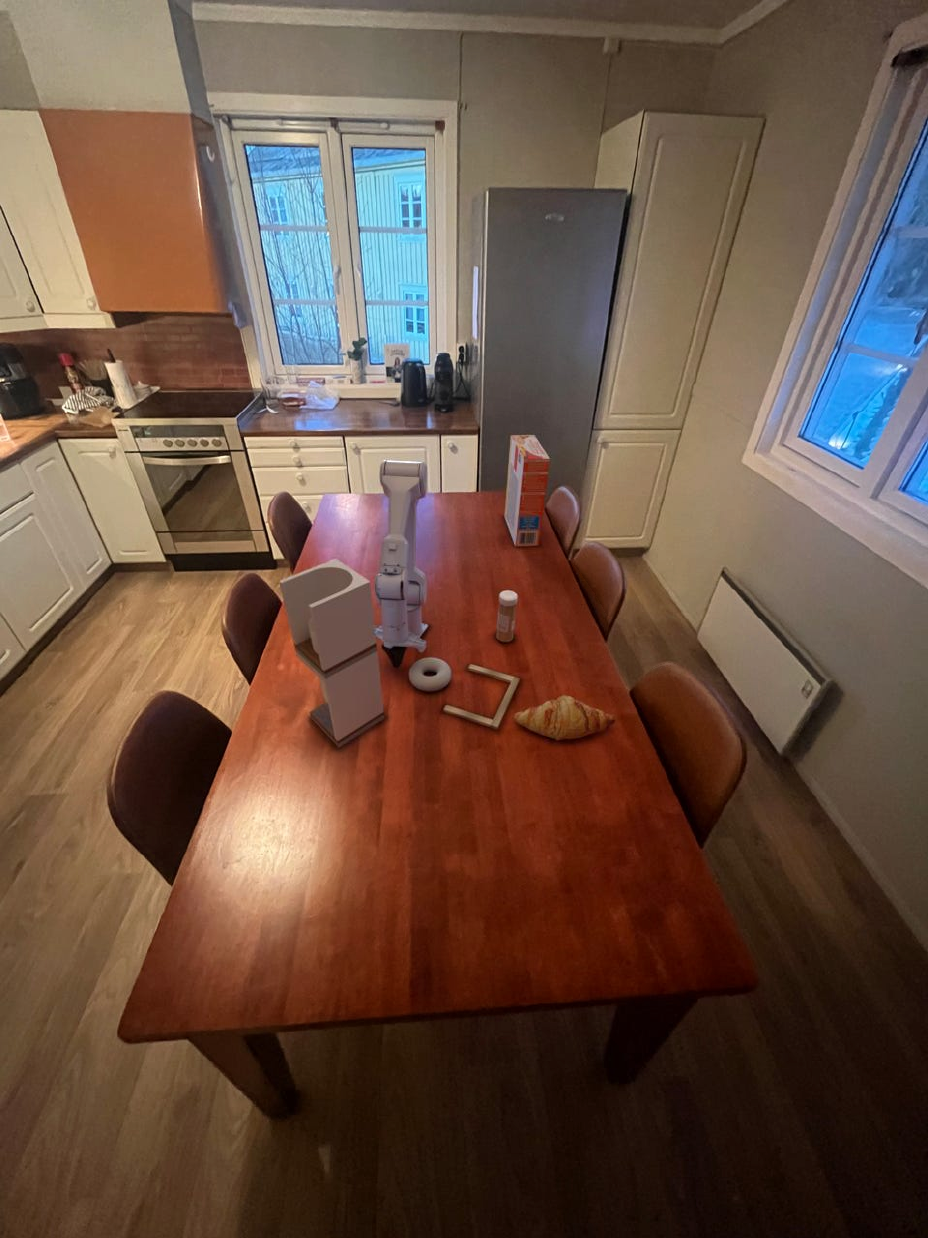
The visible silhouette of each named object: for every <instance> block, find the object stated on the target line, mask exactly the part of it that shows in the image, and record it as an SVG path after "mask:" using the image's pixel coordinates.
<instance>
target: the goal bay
mask: <svg viewBox="0 0 928 1238" xmlns="http://www.w3.org/2000/svg"><path fill="white" fill-rule="evenodd" d="M467 669H468V671H469V672H473V673H476V674H480V675H482V676H486V677H490V678H493V679H497V680H500V681H503V682H507V683H509V686H508V688H507V690H506V693H504V696H503V698H502V700H501V703H500V705H499V706H498V709H497V710H496V713H495V715H494V717H493V719H491V718H488V717H485V716H482V715H480V714H476V713H473V712H470V711H467V710H464V709H461V708H457V707H454V706H451V705H448V704H446V705H444V708H443V711H442V712H444V713H447V714H450V715H452V716H456V717H458V718H462V719H465V720H466V721H471V722H474V723H477V724H480V725H483V726H486V727H489V728H492V729H495V730H498V728H499V726H500V724H501V722H502V720H503V718H504V715H505V713H506V711H507V709H508V708H509V705H510V703H511V700H512V699H513V696H514V694H515V692H516V690H517V688H518V686H519V684H520V680H521V679H520V678H519V677H516V676H512V675H509V674H506V673H502V672H500V671H495V670H493V669H489V668H486V667H482V666H478V665H475V664H472V663H470V664H469V666H468V667H467Z"/></svg>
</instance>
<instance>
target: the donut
mask: <svg viewBox="0 0 928 1238" xmlns="http://www.w3.org/2000/svg"><path fill="white" fill-rule="evenodd" d="M428 672H429V673H430V672H432V673H435V674H436V675H433V676H427V675H425V673H428ZM451 678H452V670H451V667H450V665H449V664H448V663H447V662H446V661H444V660H442V659H440V658H438V657H423V658H420V659H418V660H417V661H415V662H414V663H412V664H411V666H410V668H409V670H408V680H409V682H410V683H411V685H412V686H413V687H415V688H416V689H418V690H420V691H423V692H437V691H439V690H441V689H443V688H444V687H446V686H447V685H448V684H449V683H450V681H451V680H452V679H451Z"/></svg>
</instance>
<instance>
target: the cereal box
mask: <svg viewBox="0 0 928 1238" xmlns="http://www.w3.org/2000/svg"><path fill="white" fill-rule="evenodd" d="M508 454H509V456H508V465H507V478H506V479H507V480H506V491H505V504H504V515H503V518H504V520H505V523H506V525H507V528H508V531H509V533H510V535H511V538H512V541H513V544H514V547H539V546H540V539H541V532H542V531H541V530H542V524H543V516H544V507H545V501H546V492H547V486H548V478H549V472H550V471H549V470H550V462H551V458H550V457H549V455H548V453H547V452H546V450H545V449H544V448H543V446H542V445H541V443H540V441H539V439H538V438H537V437H536V435H535V434H511V435H510V441H509V453H508Z"/></svg>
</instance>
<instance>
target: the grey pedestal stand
mask: <svg viewBox="0 0 928 1238" xmlns="http://www.w3.org/2000/svg"><path fill="white" fill-rule="evenodd" d="M278 582H279V587H280V592H281V596H282V600H283V605H284V608H285V613H286V615H287V616H286V617H287V621H288V625H289V629H290V634H291V638H292V643H293V646H294V647H293V648H294V651H295V656H296V658H298V659H299V660H300V661H301V662H302V663H303V664H304V665H305V666H306V667H307V668H308V669H309V670H311V672H313V673H314V674H315V675H316V677H318V679H319V683H320V688H321V692H322V693H321V694H322V697H323V699H324V701H325V702H324V703H322V704H320V705H319V706H317V707H316V708H314V709H312V710H309V716H310V719H311V720H312V721H313V722H314V723H315V725H317V726H318V728H319V729H320V730H321V731H323V733H324V734H325V735H326V736H327V737H328V738H329V739H330V740H331V741H332V742H333V743H334V744H335V746H336V747H338V748H341V747H343V746H344V745H345V744H347V743H348V742H350V741H352V740H353V739H355V738H356V737H358V736H359V735H361V734H362V733H364V732H365V731H367V730H369V729H370V728H372V727H373V726H375V725H376V724H378V723H379V722H381V721H383V720H384V719H385V713H384V711H385V710H384V703H383V693H382V684H381V673H380V663H379V654H378V644H377V637H376V634H375V626H376V624H375V614H374V605H373V597H372V596H373V595H372V587H371V581H370V580H369V579H367V578H365V577H364V576H363V575H361V574H360V573H359V572H357V571H356V570H354V569H353V568H351V567H350V566H348V565H347V564H345V563H343V562H342V561H341V560H339V559H338V558H333V559H331V560H328V561H326V562H323V563H321V564H318V565H315V566H313V567H311V568H308V569H306V570H303V571H301V572H298V573H295V574H293V575H290V576H287V577H285V578H283V579H280V580H278Z"/></svg>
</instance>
